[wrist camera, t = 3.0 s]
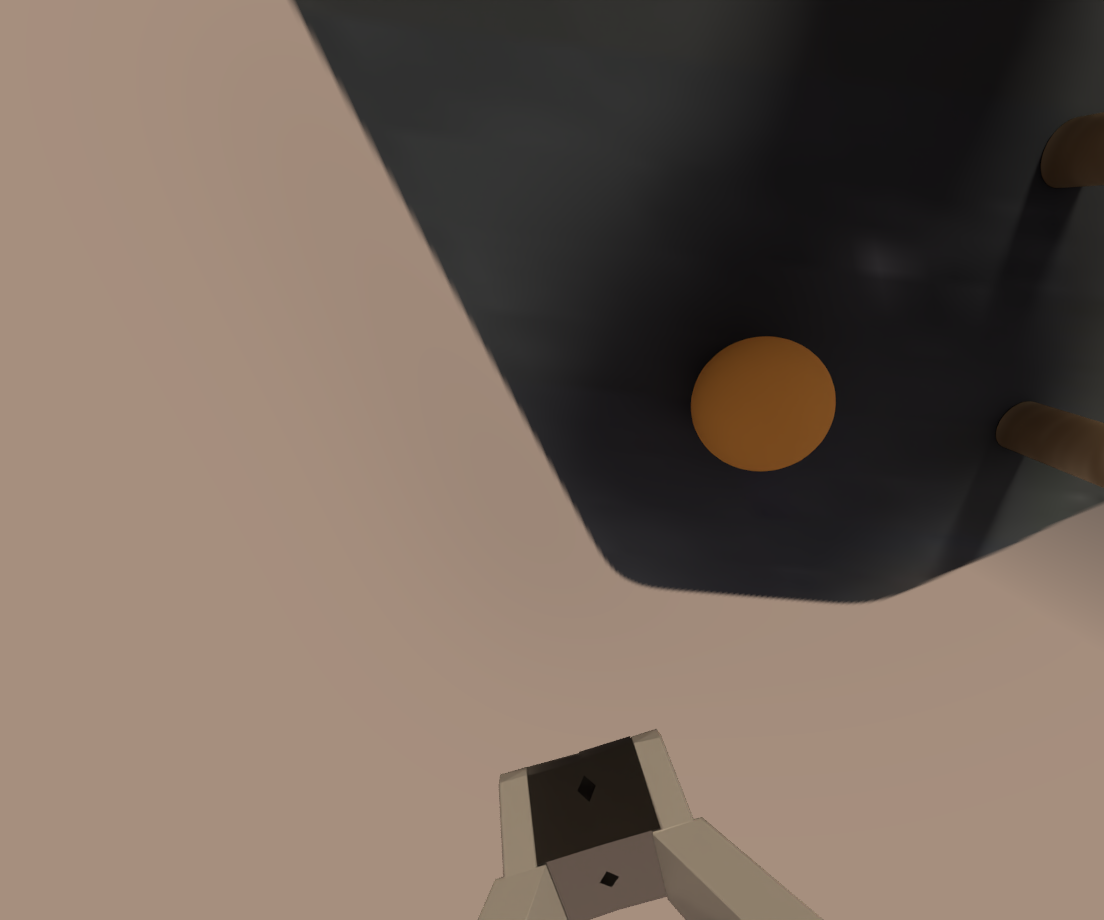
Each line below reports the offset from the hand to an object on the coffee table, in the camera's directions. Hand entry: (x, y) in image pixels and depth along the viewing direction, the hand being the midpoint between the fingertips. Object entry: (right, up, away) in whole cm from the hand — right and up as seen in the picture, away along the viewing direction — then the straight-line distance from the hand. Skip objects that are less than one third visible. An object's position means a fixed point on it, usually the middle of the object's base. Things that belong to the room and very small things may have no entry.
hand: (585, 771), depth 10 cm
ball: (+8, +8, +12) cm, 16 cm away
